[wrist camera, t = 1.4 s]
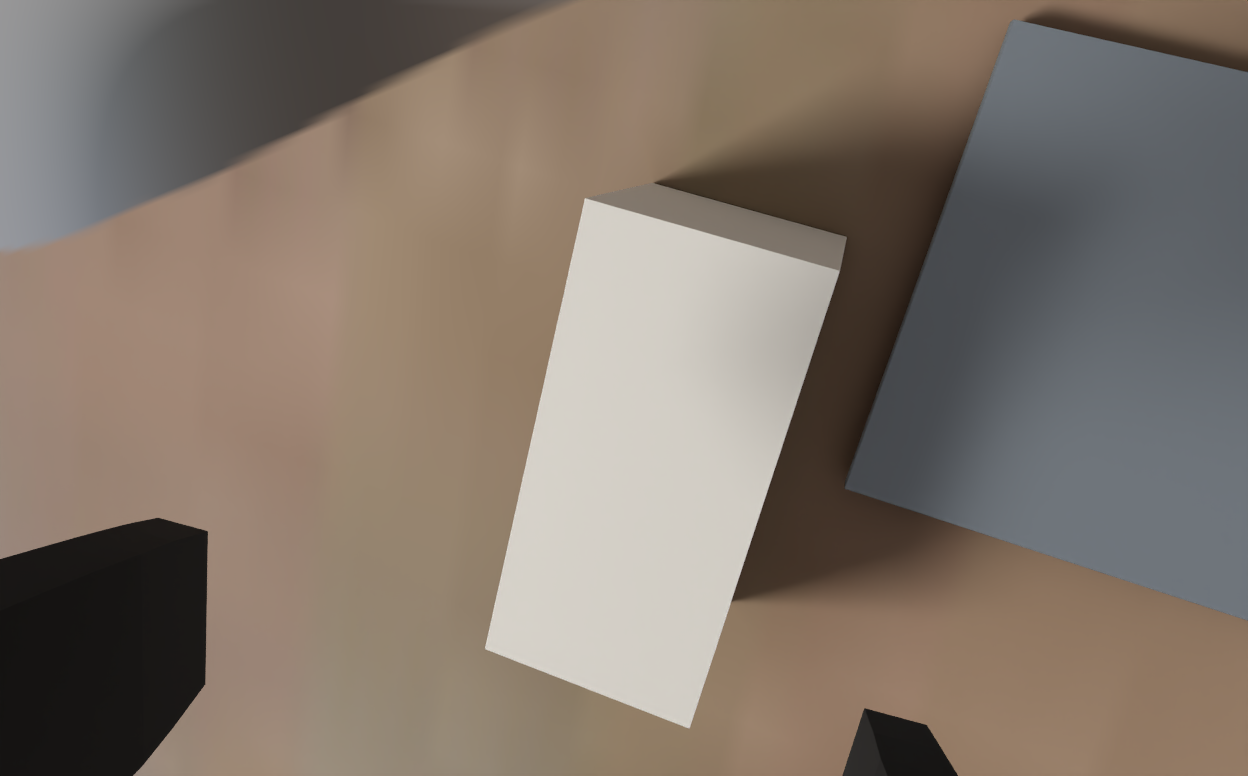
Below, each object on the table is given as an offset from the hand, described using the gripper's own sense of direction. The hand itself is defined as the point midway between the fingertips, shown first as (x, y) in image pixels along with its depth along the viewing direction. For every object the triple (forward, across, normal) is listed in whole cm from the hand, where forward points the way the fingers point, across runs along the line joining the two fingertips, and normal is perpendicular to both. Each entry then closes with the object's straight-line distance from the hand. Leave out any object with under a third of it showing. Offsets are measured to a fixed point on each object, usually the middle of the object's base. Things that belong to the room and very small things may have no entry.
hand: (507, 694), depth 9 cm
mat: (+9, -10, -3) cm, 14 cm away
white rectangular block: (+10, -1, 0) cm, 10 cm away
